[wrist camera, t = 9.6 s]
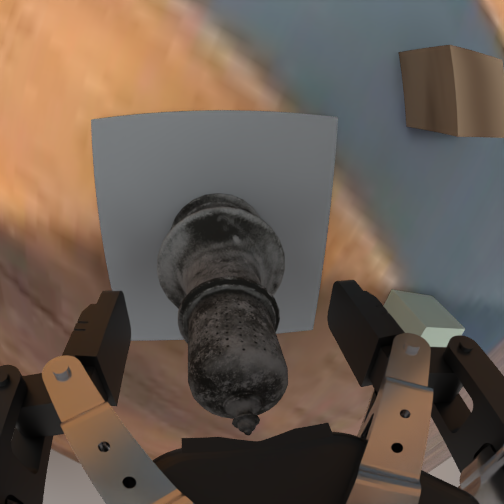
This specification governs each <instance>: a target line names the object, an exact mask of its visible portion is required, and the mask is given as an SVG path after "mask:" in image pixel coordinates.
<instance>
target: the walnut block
mask: <svg viewBox="0 0 504 504" xmlns="http://www.w3.org/2000/svg"><path fill="white" fill-rule="evenodd" d="M399 58H400V65H401V72H402V81H403V90H404V100H405V112H406V127H412V128H418V129H423V130H429V131H434V132H439V133H444V134H448V135H453V136H457V137H496V138H504V71H503V63H502V60H501V59H498V58H495V57H492V56H488V55H485V54H482V53H479V52H475V51H472V50H468V49H464V48H460V47H457V46H452V45H444V46H436V47H429V48H422V49H416V50H410V51H404V52H399Z"/></svg>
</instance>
